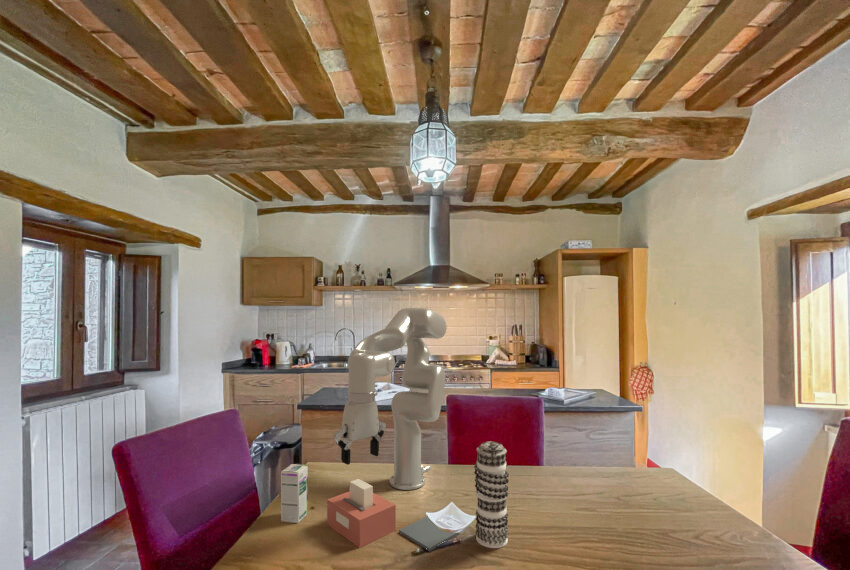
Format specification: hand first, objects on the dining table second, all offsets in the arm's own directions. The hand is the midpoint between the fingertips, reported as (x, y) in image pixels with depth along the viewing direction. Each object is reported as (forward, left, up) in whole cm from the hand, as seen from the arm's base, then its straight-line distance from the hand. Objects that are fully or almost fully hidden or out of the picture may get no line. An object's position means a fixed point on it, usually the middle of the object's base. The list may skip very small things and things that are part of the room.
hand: (360, 458), depth 118 cm
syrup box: (+11, -18, -19) cm, 29 cm away
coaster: (-12, +15, -19) cm, 27 cm away
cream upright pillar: (0, 0, -16) cm, 16 cm away
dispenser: (0, 0, -19) cm, 19 cm away
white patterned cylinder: (-22, +29, -19) cm, 41 cm away
